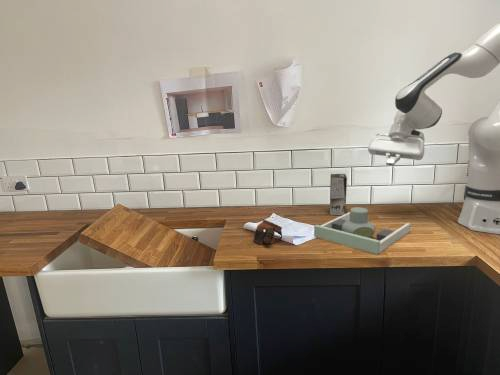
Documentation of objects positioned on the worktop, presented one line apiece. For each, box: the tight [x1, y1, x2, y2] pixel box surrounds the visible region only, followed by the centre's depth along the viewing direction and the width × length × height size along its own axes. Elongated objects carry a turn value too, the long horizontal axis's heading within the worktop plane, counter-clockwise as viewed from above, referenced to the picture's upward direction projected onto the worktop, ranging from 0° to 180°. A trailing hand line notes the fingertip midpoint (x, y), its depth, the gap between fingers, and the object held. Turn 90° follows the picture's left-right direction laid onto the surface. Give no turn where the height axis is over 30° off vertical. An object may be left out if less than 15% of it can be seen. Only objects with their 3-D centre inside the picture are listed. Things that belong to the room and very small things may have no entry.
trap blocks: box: [332, 219, 395, 241], centre depth 122 cm, size 21×6×2 cm, turn 46°
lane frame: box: [313, 211, 411, 255], centre depth 122 cm, size 23×26×4 cm
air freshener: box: [342, 206, 376, 238], centre depth 119 cm, size 11×8×10 cm
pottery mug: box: [253, 219, 283, 245], centre depth 117 cm, size 12×10×8 cm
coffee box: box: [329, 173, 348, 216], centre depth 146 cm, size 9×6×16 cm
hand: (390, 164), depth 131 cm, fingers closed
